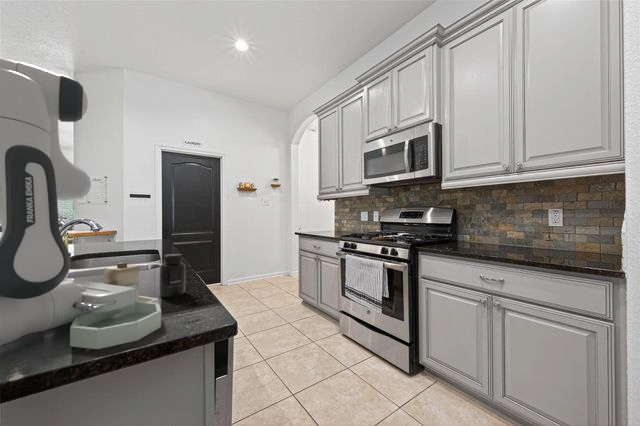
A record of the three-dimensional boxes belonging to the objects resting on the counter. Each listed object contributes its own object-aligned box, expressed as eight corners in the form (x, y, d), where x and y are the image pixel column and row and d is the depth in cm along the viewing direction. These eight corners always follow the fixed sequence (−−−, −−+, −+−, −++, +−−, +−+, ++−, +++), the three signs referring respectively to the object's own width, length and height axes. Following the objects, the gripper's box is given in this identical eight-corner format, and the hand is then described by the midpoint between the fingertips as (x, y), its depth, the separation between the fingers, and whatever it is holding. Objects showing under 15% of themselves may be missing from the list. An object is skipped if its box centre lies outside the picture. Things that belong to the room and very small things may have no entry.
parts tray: (80, 316, 62) (80, 307, 62) (128, 301, 73) (128, 294, 73) (113, 323, 59) (113, 314, 59) (158, 306, 69) (158, 298, 69)
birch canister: (103, 313, 64) (104, 264, 64) (124, 306, 69) (125, 260, 69) (118, 316, 63) (118, 265, 63) (138, 308, 67) (139, 262, 67)
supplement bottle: (173, 299, 75) (174, 257, 75) (153, 297, 77) (153, 256, 77) (190, 291, 82) (190, 253, 82) (171, 290, 83) (171, 252, 83)
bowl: (79, 326, 57) (79, 310, 57) (157, 312, 65) (157, 298, 65) (65, 356, 45) (65, 336, 45) (162, 334, 54) (163, 317, 54)
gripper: (93, 293, 51) (158, 276, 64) (30, 283, 57) (100, 270, 70) (93, 326, 51) (158, 302, 64) (29, 312, 57) (100, 293, 70)
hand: (127, 285), depth 67 cm, fingers closed on birch canister, 5 cm apart
